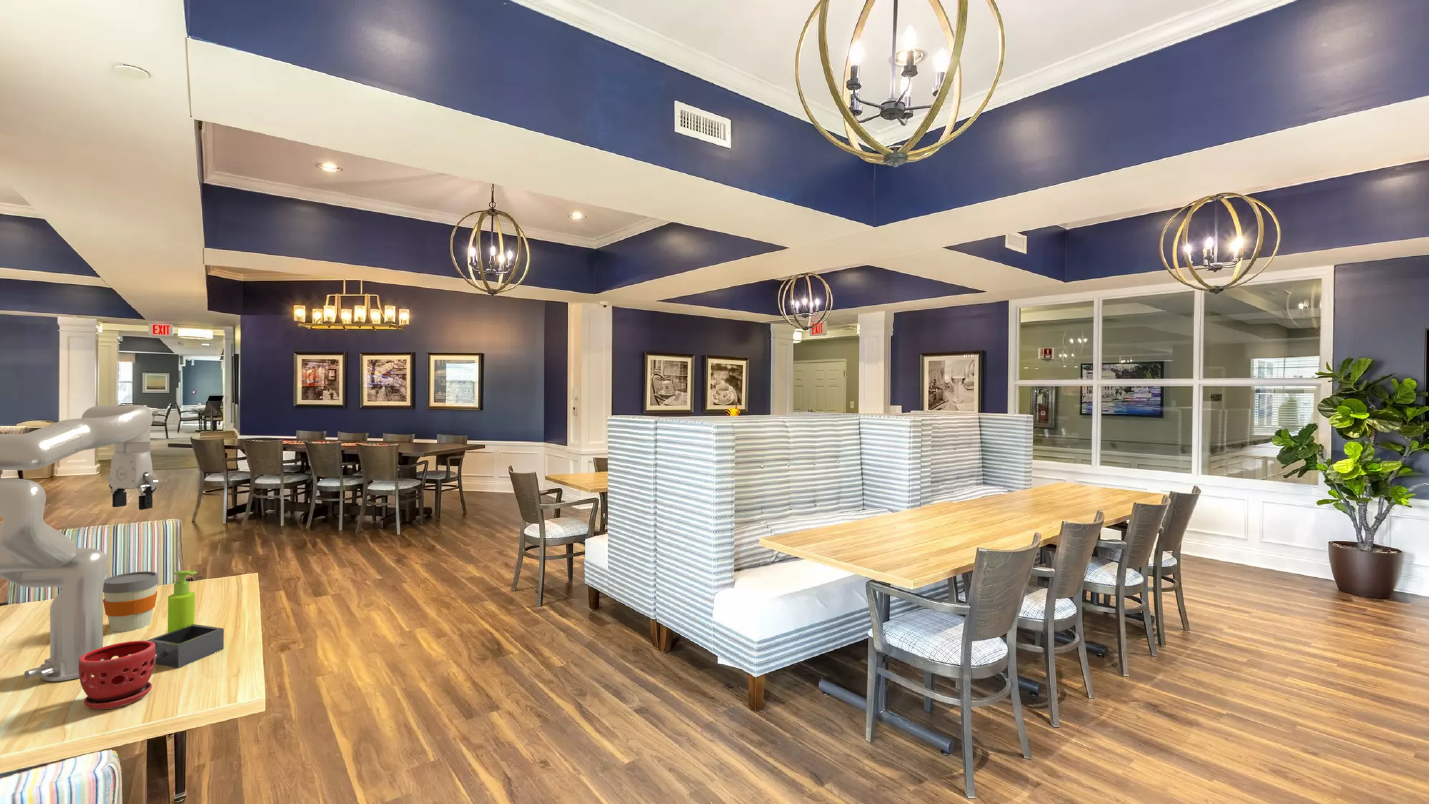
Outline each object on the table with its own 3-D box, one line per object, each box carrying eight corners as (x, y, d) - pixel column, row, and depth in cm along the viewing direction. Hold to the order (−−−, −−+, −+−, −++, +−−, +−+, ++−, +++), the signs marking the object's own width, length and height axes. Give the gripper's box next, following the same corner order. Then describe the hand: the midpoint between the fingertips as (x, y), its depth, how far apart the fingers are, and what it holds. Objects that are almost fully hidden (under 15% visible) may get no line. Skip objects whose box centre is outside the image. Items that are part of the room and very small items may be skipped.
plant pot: (169, 686, 154) (170, 638, 154) (120, 714, 141) (120, 662, 140) (115, 686, 154) (115, 637, 153) (61, 714, 140) (61, 661, 140)
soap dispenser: (185, 644, 178) (186, 574, 177) (161, 643, 178) (162, 573, 178) (203, 636, 184) (203, 568, 183) (180, 635, 184) (180, 567, 183)
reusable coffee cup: (169, 619, 195) (169, 572, 195) (127, 635, 182) (128, 585, 182) (133, 617, 196) (133, 570, 196) (89, 633, 184) (89, 582, 183)
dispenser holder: (159, 676, 159) (159, 652, 159) (126, 670, 162) (126, 647, 161) (223, 649, 175) (223, 628, 175) (192, 644, 178) (192, 624, 178)
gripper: (94, 448, 177) (94, 508, 177) (141, 451, 173) (141, 512, 173) (124, 445, 184) (124, 503, 185) (170, 448, 180) (170, 507, 181)
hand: (132, 507), depth 179 cm, fingers open, 9 cm apart
